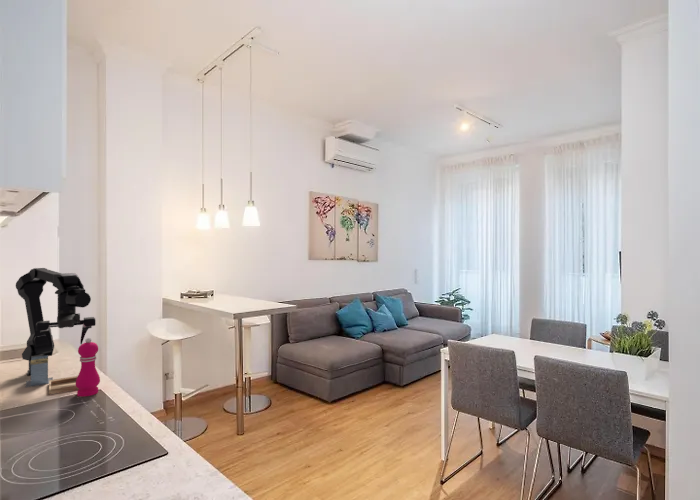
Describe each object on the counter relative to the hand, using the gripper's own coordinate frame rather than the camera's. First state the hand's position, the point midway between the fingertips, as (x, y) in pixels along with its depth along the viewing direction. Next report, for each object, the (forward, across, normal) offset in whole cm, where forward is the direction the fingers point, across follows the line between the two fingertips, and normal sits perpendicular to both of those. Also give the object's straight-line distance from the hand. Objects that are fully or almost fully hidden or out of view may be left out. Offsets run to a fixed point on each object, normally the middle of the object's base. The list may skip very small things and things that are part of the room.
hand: (66, 345), depth 153 cm
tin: (+13, -8, +1) cm, 15 cm away
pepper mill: (+14, +7, -21) cm, 26 cm away
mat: (+13, -8, +1) cm, 16 cm away
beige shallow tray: (+13, 0, -10) cm, 17 cm away
